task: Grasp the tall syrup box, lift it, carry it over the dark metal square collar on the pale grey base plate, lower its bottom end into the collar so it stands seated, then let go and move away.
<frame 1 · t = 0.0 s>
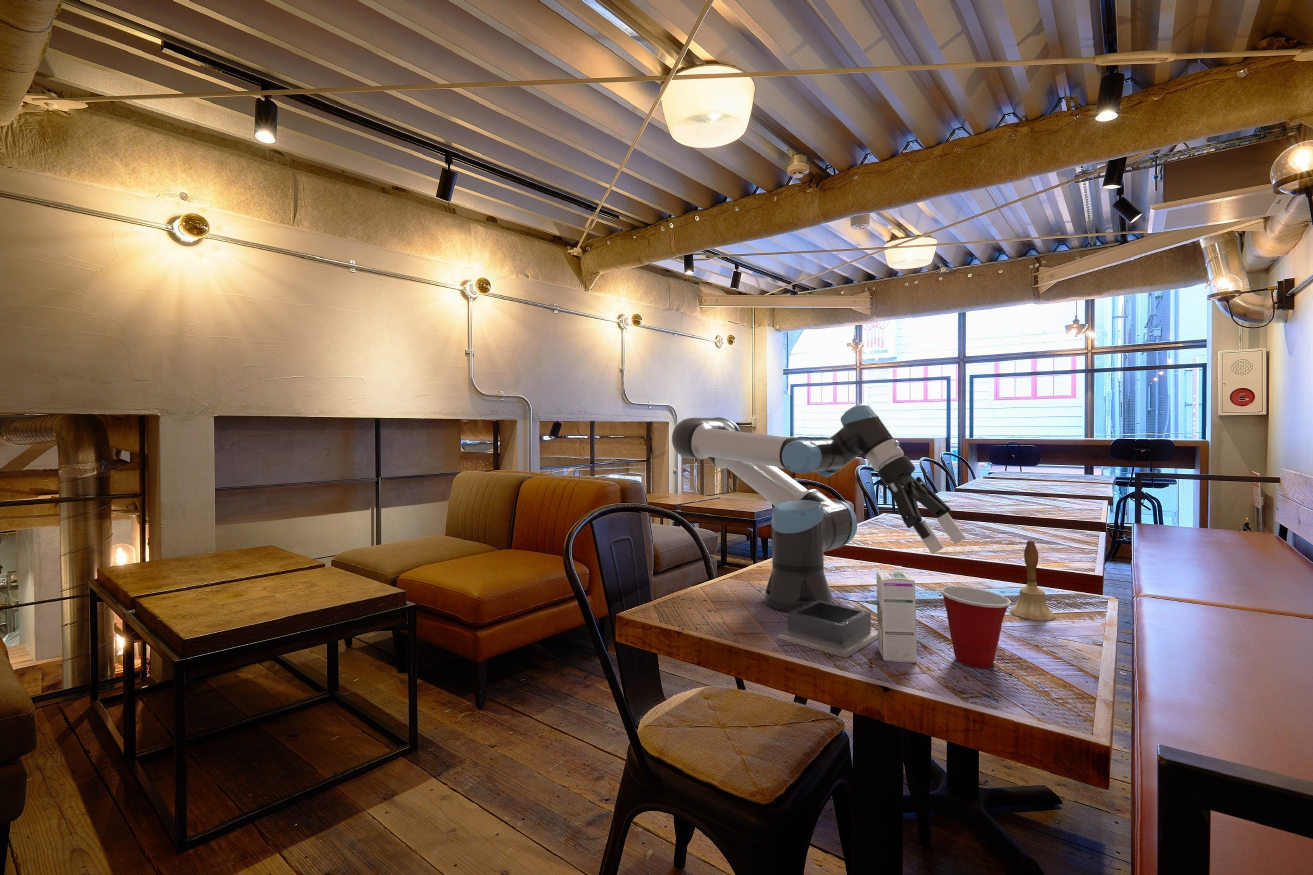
hand: (950, 546, 123), 15 cm above the table, tool tilted 35°, fingers open, 13 cm apart
hand bell: (1032, 615, 124), on the table
collar bracket: (829, 637, 112), on the table
syrup box: (896, 656, 103), on the table
plastic cup: (975, 662, 100), on the table
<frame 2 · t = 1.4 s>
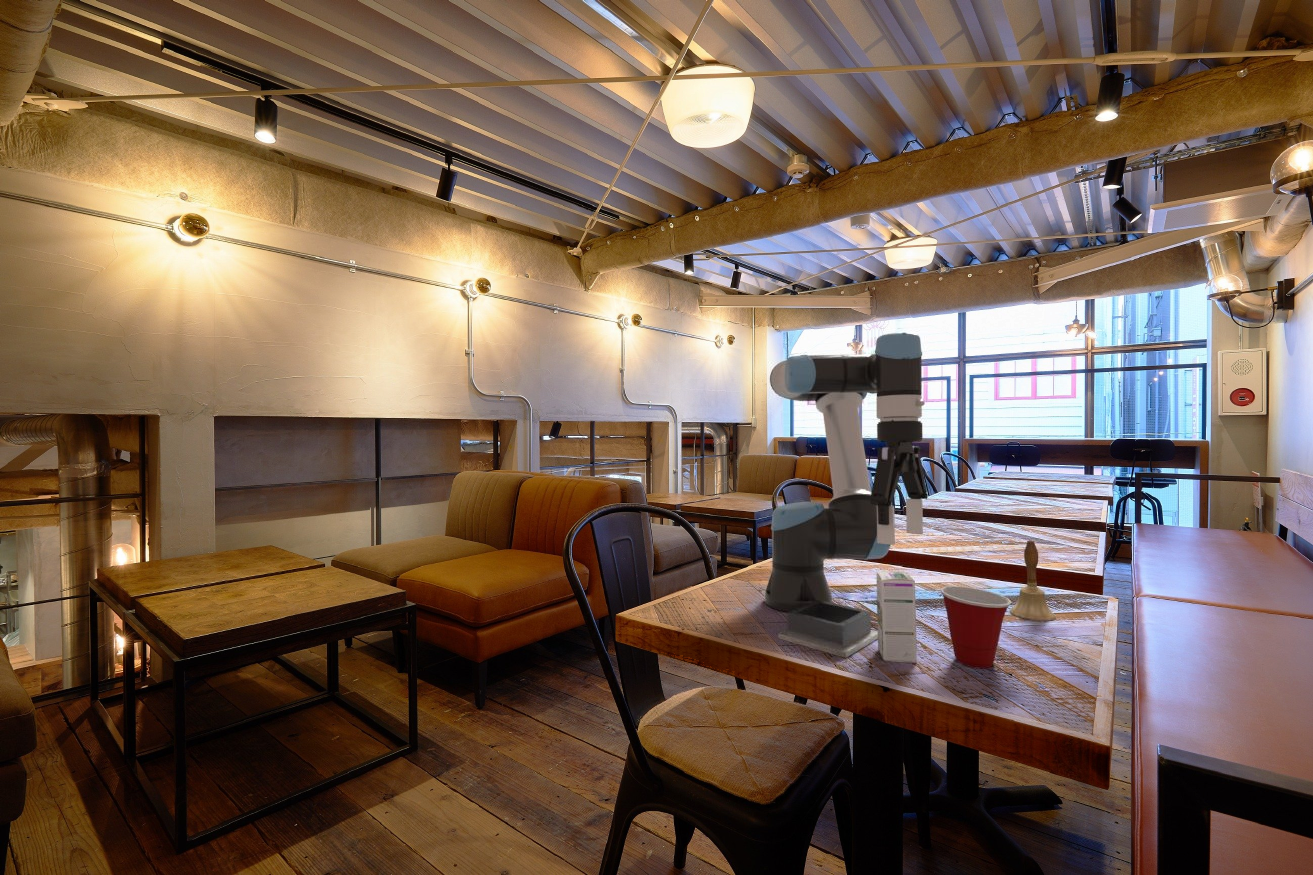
hand: (901, 538, 103), 21 cm above the table, tool pointing down, fingers open, 13 cm apart
nothing on the table moved.
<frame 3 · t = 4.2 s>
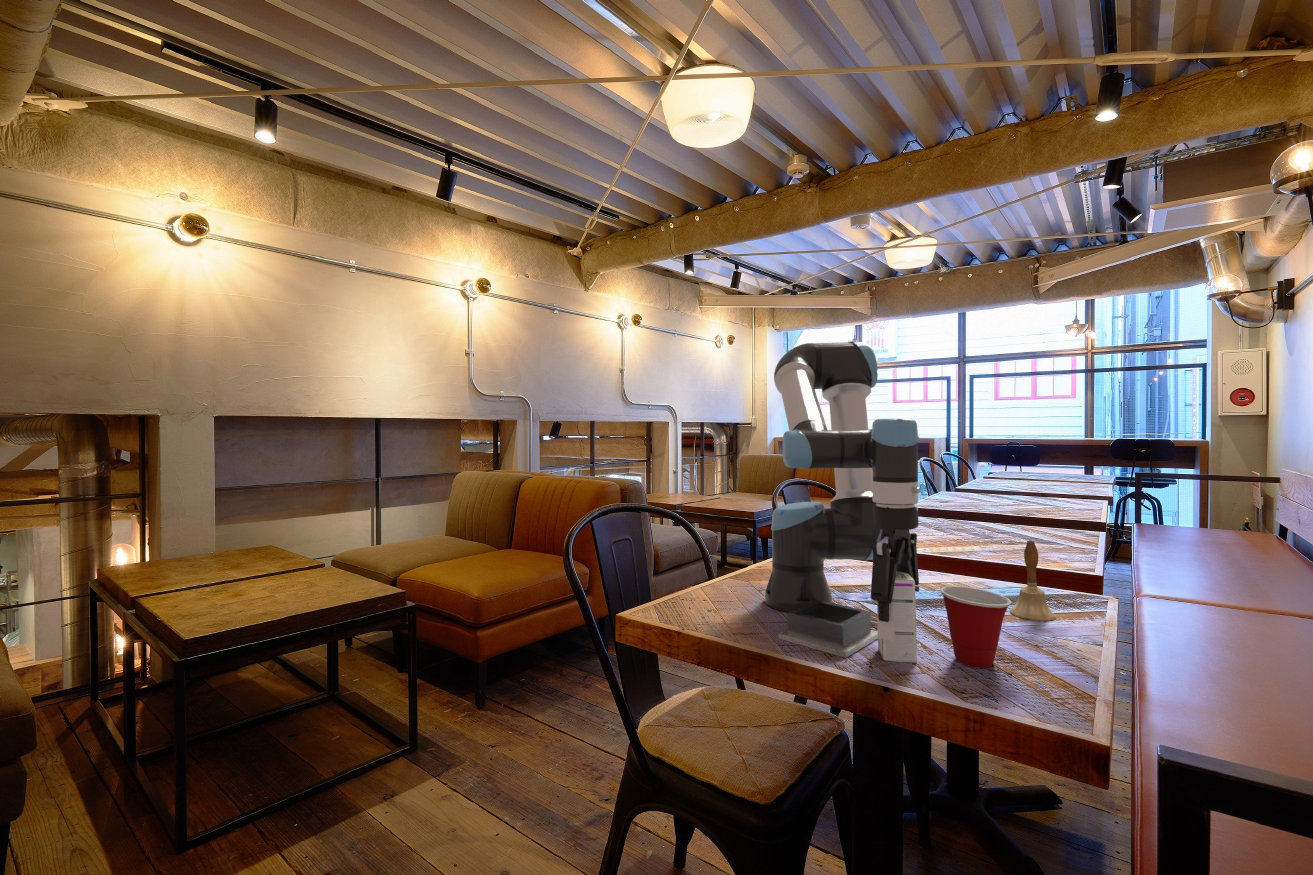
hand: (896, 632, 103), 4 cm above the table, tool pointing down, fingers closed on syrup box, 8 cm apart
syrup box: (896, 656, 103), on the table, touching gripper
everything else where it was.
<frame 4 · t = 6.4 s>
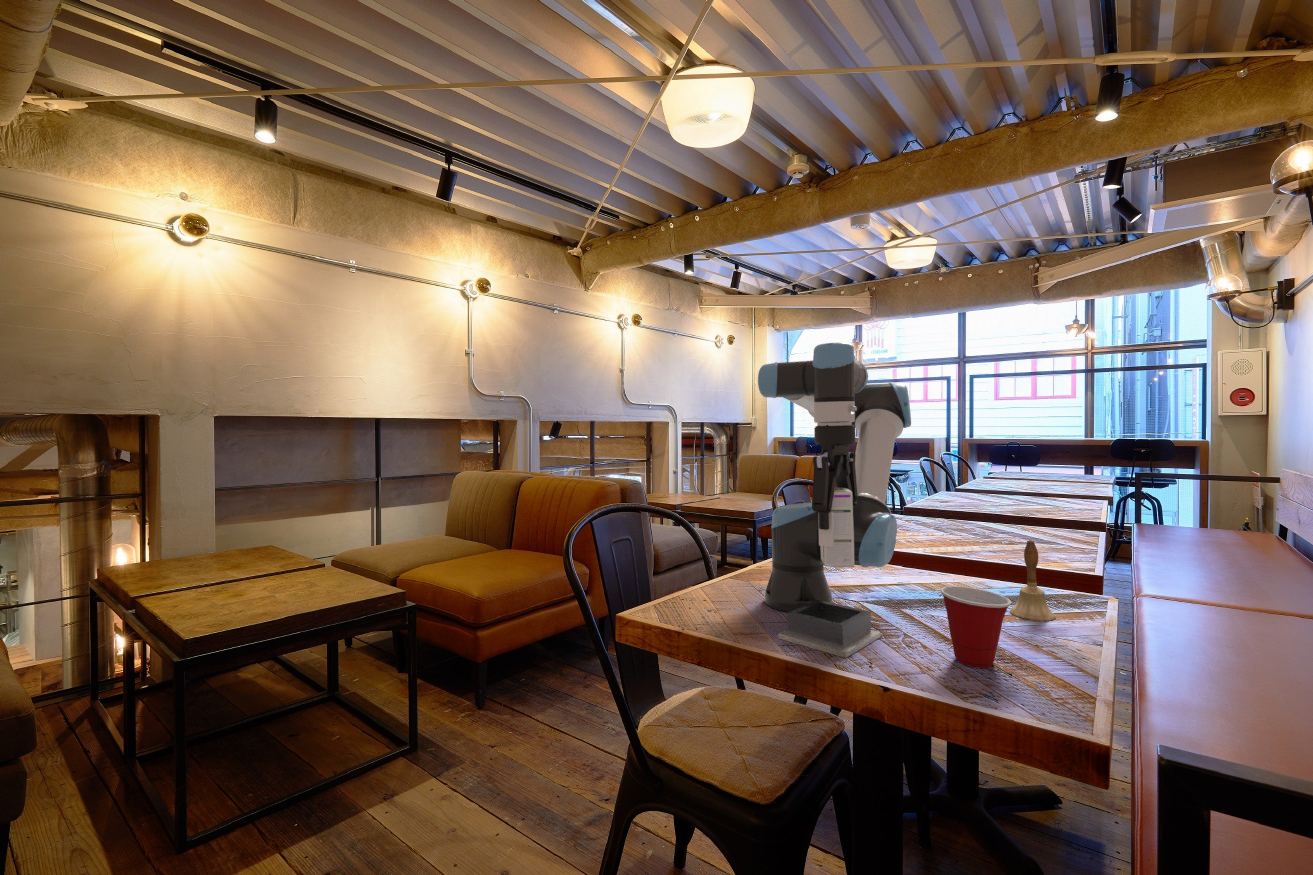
hand: (836, 541, 111), 19 cm above the table, tool pointing down, fingers closed on syrup box, 8 cm apart
syrup box: (836, 564, 111), point 14 cm above the table, touching gripper
everything else where it was.
when the fingers open (7 cm above the table, at t = 9.1 s): syrup box drops 1 cm, resting on collar bracket.
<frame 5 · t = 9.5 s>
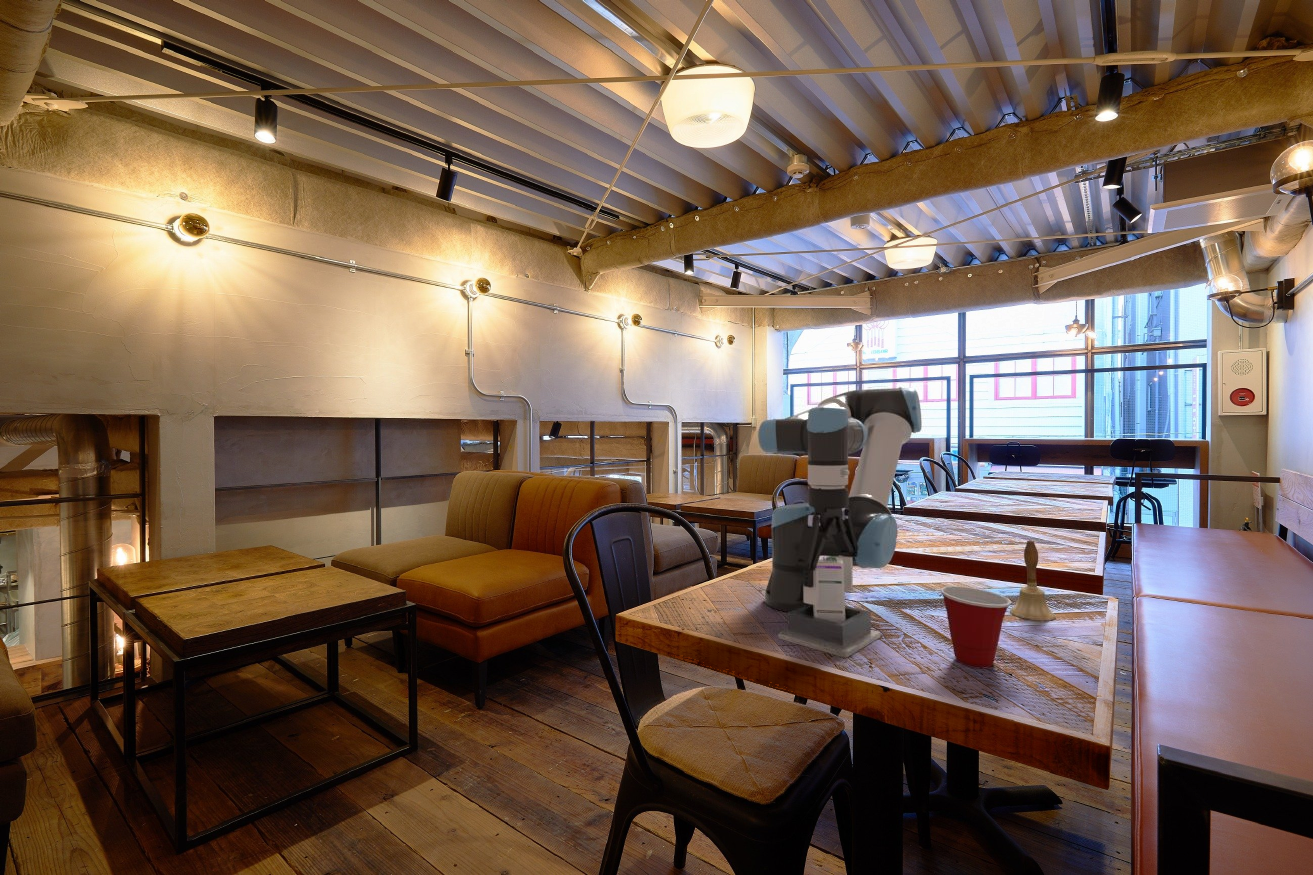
hand: (829, 595, 112), 8 cm above the table, tool pointing down, fingers open, 13 cm apart
syrup box: (828, 633, 112), point 1 cm above the table, touching collar bracket
everything else where it was.
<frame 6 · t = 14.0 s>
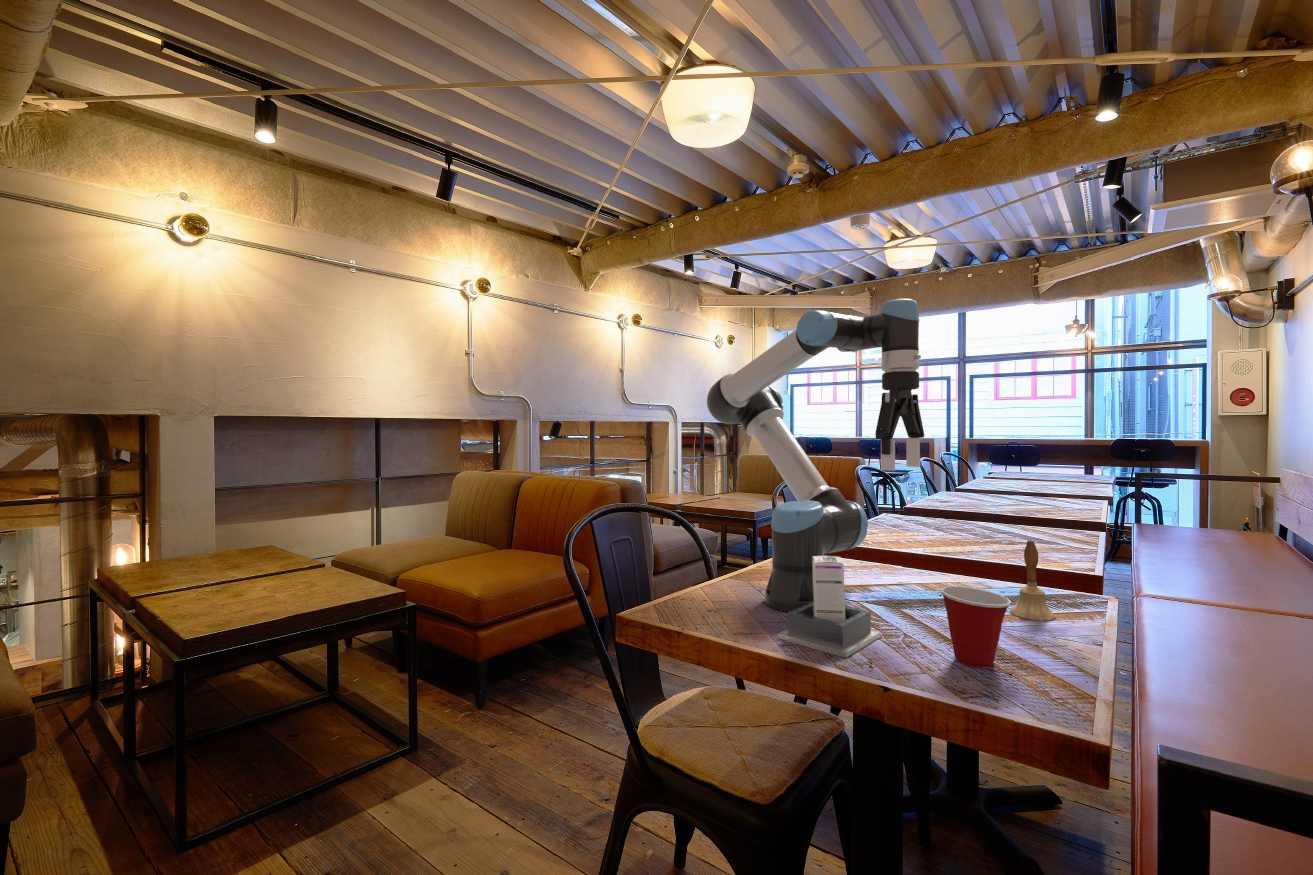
hand: (901, 468, 126), 32 cm above the table, tool pointing down, fingers open, 13 cm apart
nothing on the table moved.
at the end: syrup box 0.2 cm off-centre on the collar bracket, point 0.8 cm above the collar bracket's base; syrup box tilted 0°; the gripper is holding nothing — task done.
